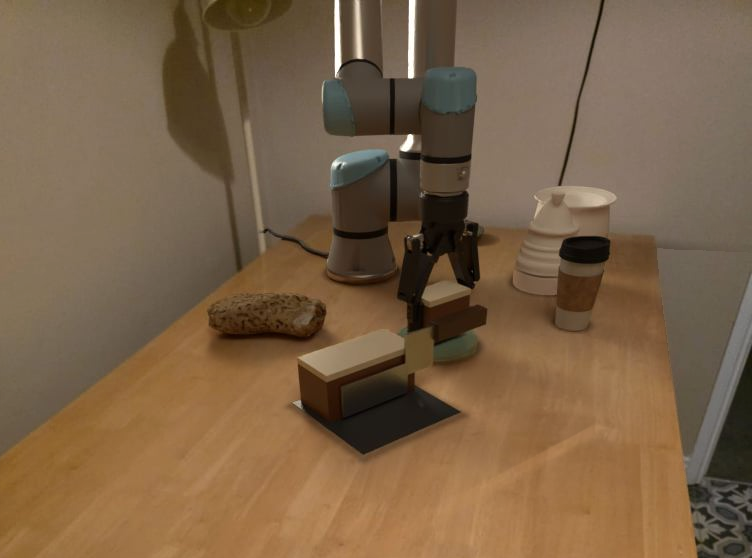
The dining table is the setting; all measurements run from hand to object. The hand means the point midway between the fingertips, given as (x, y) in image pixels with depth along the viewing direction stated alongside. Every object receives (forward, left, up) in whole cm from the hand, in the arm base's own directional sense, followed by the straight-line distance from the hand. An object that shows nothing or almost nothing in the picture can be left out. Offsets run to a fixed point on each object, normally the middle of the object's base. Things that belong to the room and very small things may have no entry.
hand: (437, 331), depth 115 cm
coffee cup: (+9, +25, -3) cm, 27 cm away
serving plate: (0, 0, -3) cm, 3 cm away
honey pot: (-8, +37, -3) cm, 38 cm away
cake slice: (0, 0, 0) cm, 0 cm away
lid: (-41, +45, -3) cm, 61 cm away
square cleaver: (+11, -14, -2) cm, 18 cm away
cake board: (+11, -22, -3) cm, 25 cm away
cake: (+7, -22, -2) cm, 23 cm away
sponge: (-24, -20, -3) cm, 31 cm away
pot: (-18, +56, -3) cm, 59 cm away
